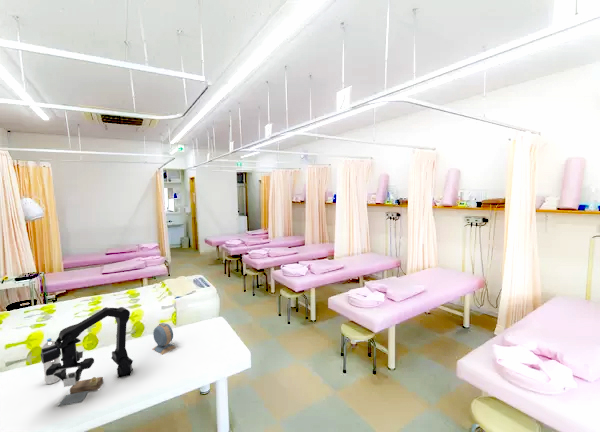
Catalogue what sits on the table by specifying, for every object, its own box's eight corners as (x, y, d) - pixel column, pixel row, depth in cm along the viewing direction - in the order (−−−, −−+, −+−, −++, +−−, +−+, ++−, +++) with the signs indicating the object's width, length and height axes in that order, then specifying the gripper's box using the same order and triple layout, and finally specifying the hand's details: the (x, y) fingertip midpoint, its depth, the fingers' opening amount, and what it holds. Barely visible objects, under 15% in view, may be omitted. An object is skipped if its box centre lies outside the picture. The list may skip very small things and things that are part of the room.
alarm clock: (176, 347, 188) (175, 323, 186) (163, 355, 180) (161, 329, 178) (164, 342, 195) (163, 318, 194) (151, 348, 187) (149, 324, 186)
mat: (88, 391, 147) (88, 390, 147) (81, 401, 140) (81, 400, 140) (66, 396, 145) (66, 394, 144) (58, 406, 137) (58, 405, 137)
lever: (98, 381, 151) (98, 375, 150) (96, 385, 148) (95, 379, 148) (92, 382, 150) (91, 376, 150) (89, 386, 147) (89, 380, 147)
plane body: (103, 381, 155) (102, 376, 155) (98, 389, 149) (98, 383, 149) (75, 386, 151) (75, 381, 151) (70, 394, 146) (69, 389, 145)
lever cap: (80, 378, 145) (79, 370, 144) (75, 384, 140) (74, 376, 139) (69, 380, 143) (68, 372, 143) (64, 386, 139) (63, 378, 138)
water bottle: (47, 386, 152) (43, 343, 150) (43, 382, 156) (39, 340, 153) (63, 379, 158) (59, 337, 156) (59, 375, 161) (54, 334, 159)
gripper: (97, 341, 150) (99, 368, 152) (56, 347, 145) (59, 375, 147) (87, 353, 140) (90, 381, 141) (43, 360, 135) (46, 389, 136)
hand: (72, 381), depth 142 cm, fingers closed on lever cap, 5 cm apart
